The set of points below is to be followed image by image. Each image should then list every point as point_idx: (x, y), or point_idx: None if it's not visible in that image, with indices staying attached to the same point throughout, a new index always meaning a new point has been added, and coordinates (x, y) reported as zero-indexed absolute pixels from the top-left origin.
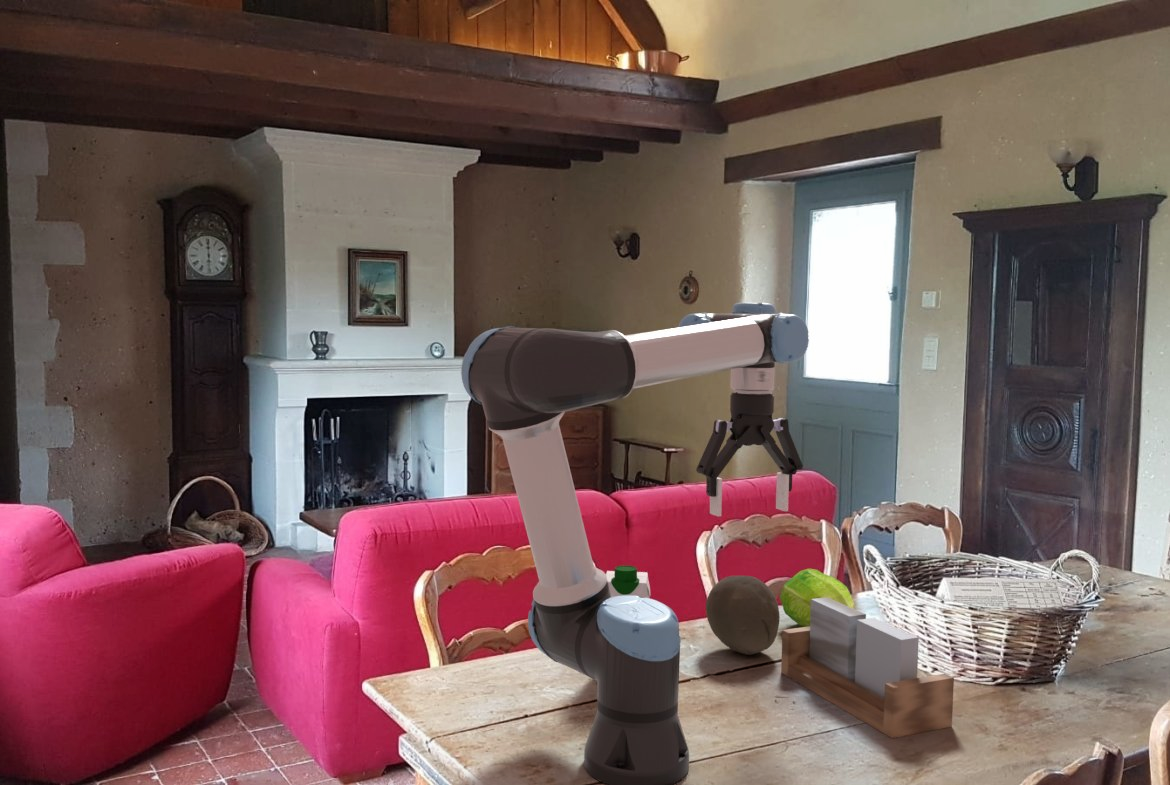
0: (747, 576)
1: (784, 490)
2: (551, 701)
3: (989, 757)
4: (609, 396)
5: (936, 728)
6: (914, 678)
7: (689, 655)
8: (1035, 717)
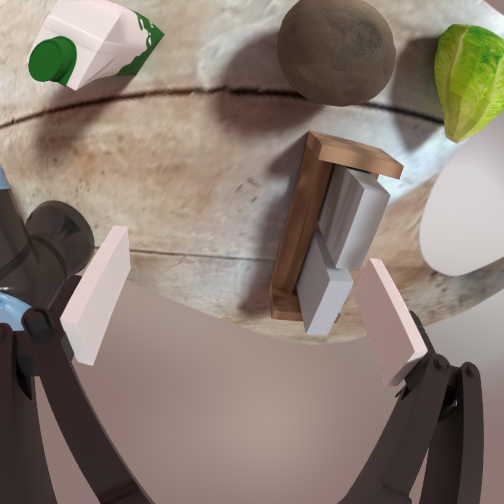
0: (377, 39)
1: (371, 339)
2: (36, 96)
3: (299, 327)
4: None
5: None
6: None
7: (248, 22)
8: None
